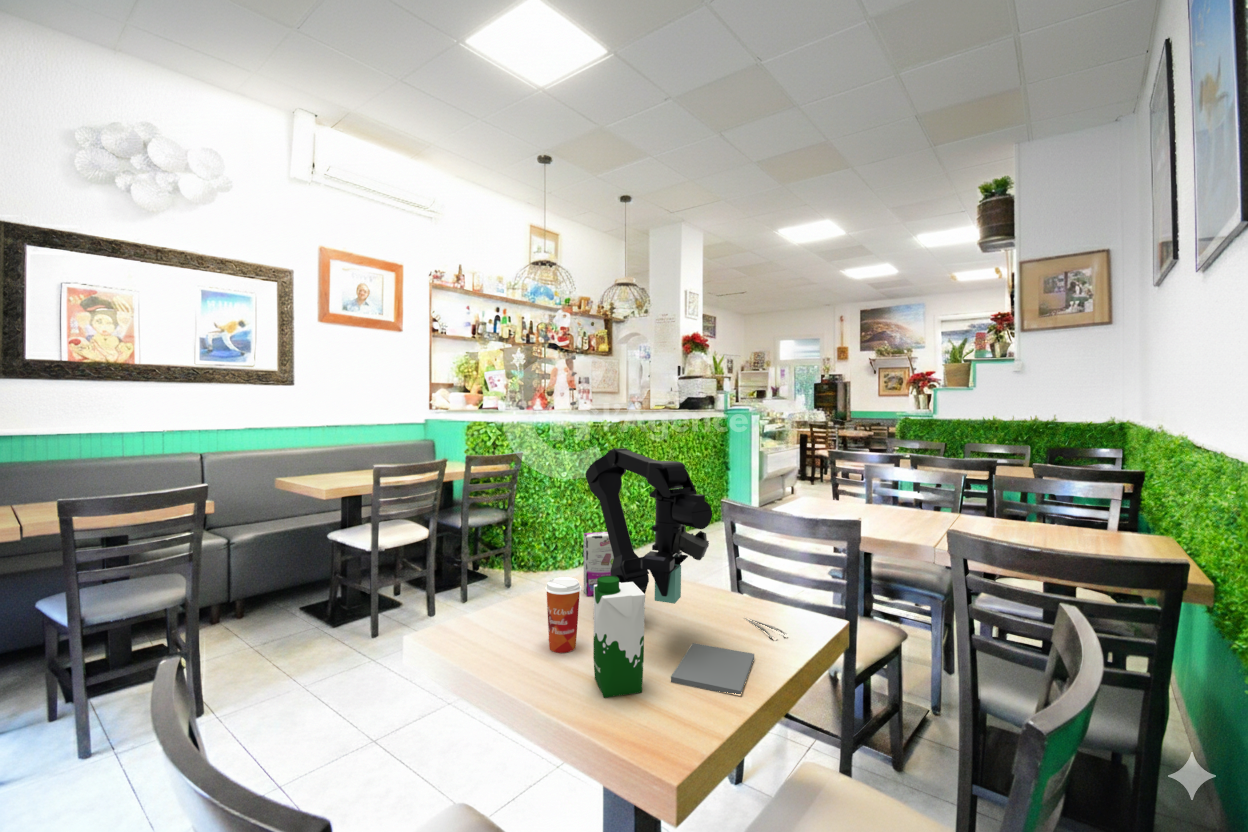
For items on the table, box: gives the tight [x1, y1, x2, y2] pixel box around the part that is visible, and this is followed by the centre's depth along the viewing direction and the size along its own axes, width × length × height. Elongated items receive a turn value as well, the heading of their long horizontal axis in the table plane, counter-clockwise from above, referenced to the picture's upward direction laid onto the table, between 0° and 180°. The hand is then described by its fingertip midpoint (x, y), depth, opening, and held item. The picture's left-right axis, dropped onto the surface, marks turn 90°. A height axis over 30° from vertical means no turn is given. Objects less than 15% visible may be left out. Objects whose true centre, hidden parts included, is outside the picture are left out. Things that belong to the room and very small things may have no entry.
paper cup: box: [544, 576, 582, 654], centre depth 117 cm, size 8×8×14 cm
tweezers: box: [744, 617, 787, 638], centre depth 131 cm, size 18×5×2 cm, turn 25°
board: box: [670, 642, 755, 695], centre depth 108 cm, size 13×16×1 cm
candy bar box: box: [583, 531, 614, 597], centre depth 152 cm, size 11×5×16 cm, turn 105°
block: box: [654, 564, 682, 605], centre depth 119 cm, size 4×4×7 cm
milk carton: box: [593, 576, 646, 699], centre depth 101 cm, size 9×9×20 cm
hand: (667, 592), depth 119 cm, fingers closed on block, 4 cm apart
